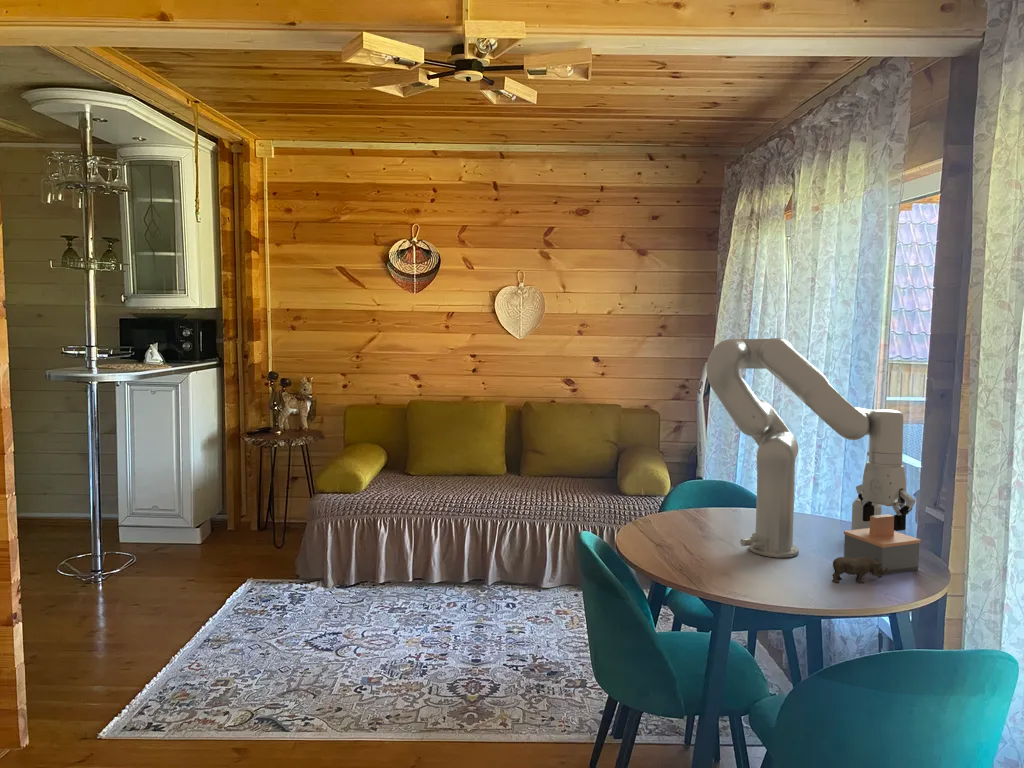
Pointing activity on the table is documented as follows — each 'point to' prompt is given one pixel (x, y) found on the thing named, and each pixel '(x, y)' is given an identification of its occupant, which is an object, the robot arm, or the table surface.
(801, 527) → the table surface
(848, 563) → the rhino figurine
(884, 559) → the tub
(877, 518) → the lid
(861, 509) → the can
